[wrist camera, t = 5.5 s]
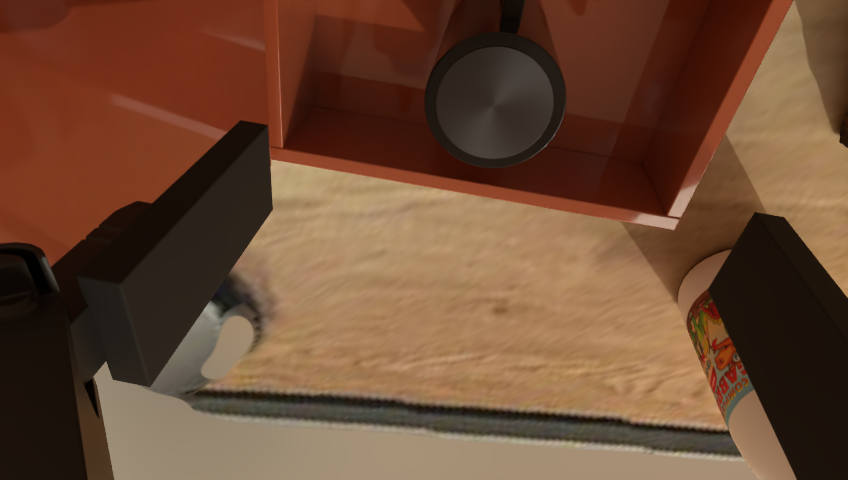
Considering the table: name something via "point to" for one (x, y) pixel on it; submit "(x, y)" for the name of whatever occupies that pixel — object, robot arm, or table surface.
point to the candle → (844, 132)
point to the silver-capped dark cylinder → (495, 84)
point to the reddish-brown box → (585, 97)
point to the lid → (116, 104)
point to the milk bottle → (729, 375)
